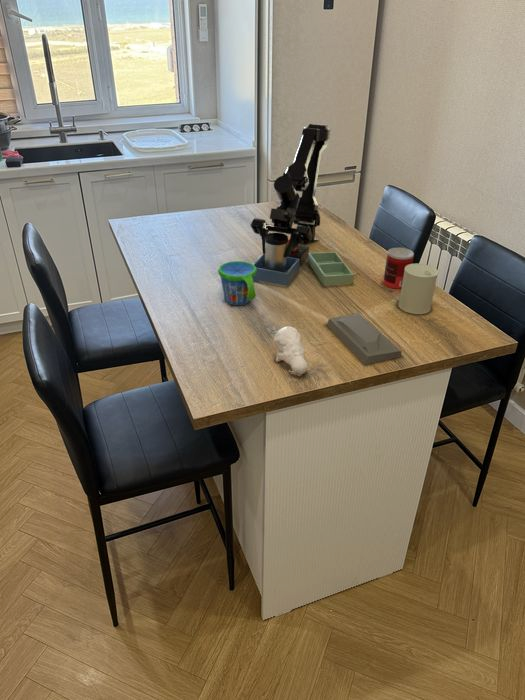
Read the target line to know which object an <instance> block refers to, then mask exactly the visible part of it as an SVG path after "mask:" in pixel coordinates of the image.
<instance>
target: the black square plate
mask: <svg viewBox="0 0 525 700" xmlns="http://www.w3.org/2000/svg"><path fill="white" fill-rule="evenodd" d="M308 253H310V246H309V245H304V244H298V245H297V250H296V251H292V252H291V253H290V254H289V255H288V257H292V258H298V259H300V265H301V264H302V263H303V262H304V260H305V259H306V258H308Z"/></svg>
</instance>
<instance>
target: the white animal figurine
mask: <svg viewBox="0 0 525 700" xmlns="http://www.w3.org/2000/svg"><path fill="white" fill-rule="evenodd" d="M273 345H274V347H275V348H276V357H275V361H276V362H278V363H279V362H281V361H284V362H285V363H286V364H288V365H289V366H290V368H291V370H288V372H290V373H291V374H293V375H296V376H298V377H302V375H304V374H305V373H306V372H307V371H308V368H309V366H308V362H307V360H306V359H305V356H306V350H305V348H304V347H303V344H302V336H301V334H300V333H299V332H298V330H297V329H296V328H295V327H293V326H287V325H286V326H285V327H282V328H280V329H278V330H277V331H276V333H275V335H274V336H273Z"/></svg>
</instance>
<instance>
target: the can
mask: <svg viewBox="0 0 525 700" xmlns="http://www.w3.org/2000/svg"><path fill="white" fill-rule="evenodd" d="M438 276H439V270H438V269H437V268H436V267H434V266H432V265H430V264H426V263H418V262H417V263H412V264H409V265H407V266H406V267H405V271H404V277H403V283H402V289H400V295H399V300H398V303H397V307H398V308H399V310H401V311H402V312H404V313H407V314H412V315H426V314H428V313H430V312H431V310H432V303H433V298H434V293H435V288H436V284H437V279H438Z"/></svg>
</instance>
